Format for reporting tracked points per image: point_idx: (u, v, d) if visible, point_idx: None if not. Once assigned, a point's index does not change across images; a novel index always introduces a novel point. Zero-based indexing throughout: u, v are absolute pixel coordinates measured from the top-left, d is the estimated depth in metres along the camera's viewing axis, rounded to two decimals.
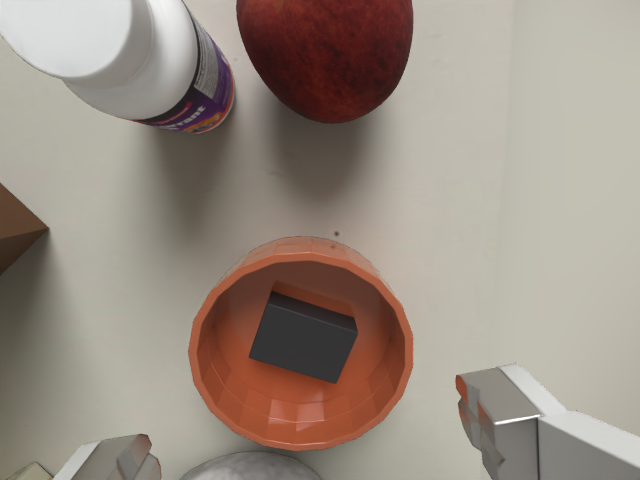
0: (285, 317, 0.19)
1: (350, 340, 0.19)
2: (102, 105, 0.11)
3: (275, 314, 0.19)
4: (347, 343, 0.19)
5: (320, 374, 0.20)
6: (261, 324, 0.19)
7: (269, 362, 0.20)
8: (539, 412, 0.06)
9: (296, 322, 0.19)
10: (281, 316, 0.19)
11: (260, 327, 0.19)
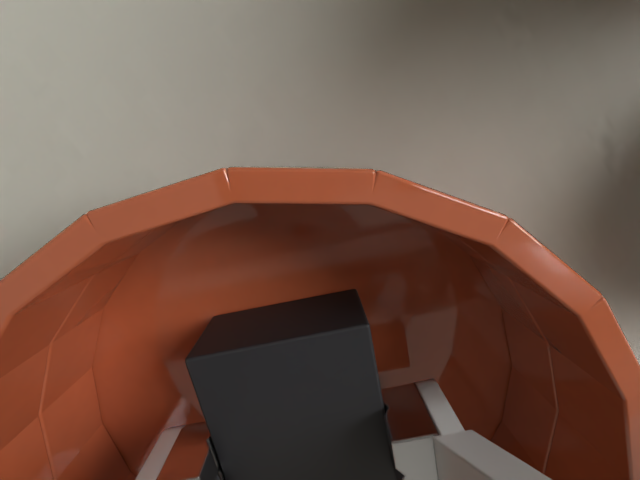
0: (355, 383, 0.07)
1: None
2: None
3: (350, 358, 0.07)
4: None
5: None
6: (302, 342, 0.06)
7: (209, 413, 0.07)
8: (436, 431, 0.06)
9: (357, 412, 0.07)
10: (352, 373, 0.07)
11: (291, 343, 0.06)
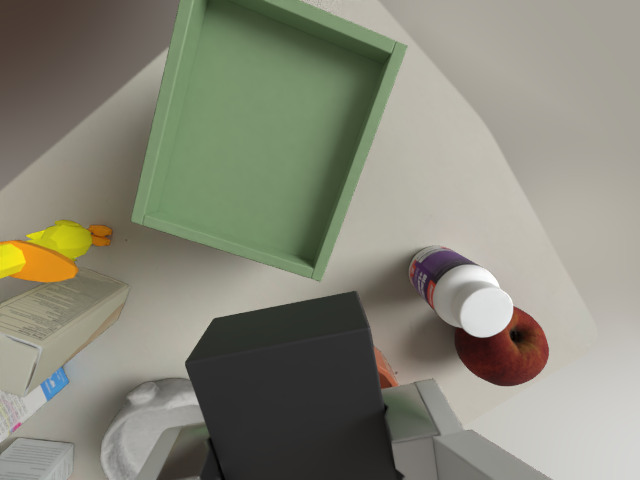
0: (356, 386, 0.07)
1: None
2: (440, 307, 0.25)
3: (350, 361, 0.07)
4: None
5: None
6: (302, 345, 0.06)
7: (209, 416, 0.07)
8: (436, 431, 0.06)
9: (357, 415, 0.07)
10: (353, 376, 0.07)
11: (291, 346, 0.06)
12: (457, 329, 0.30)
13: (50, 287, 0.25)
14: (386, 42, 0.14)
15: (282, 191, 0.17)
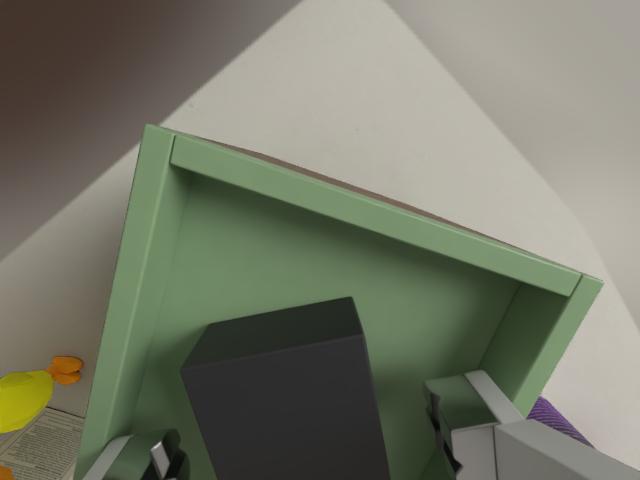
0: (351, 393, 0.07)
1: None
2: None
3: (345, 368, 0.07)
4: None
5: None
6: (297, 351, 0.06)
7: (203, 423, 0.07)
8: (496, 420, 0.06)
9: (352, 421, 0.07)
10: (348, 383, 0.07)
11: (286, 353, 0.06)
12: None
13: None
14: (562, 278, 0.07)
15: None
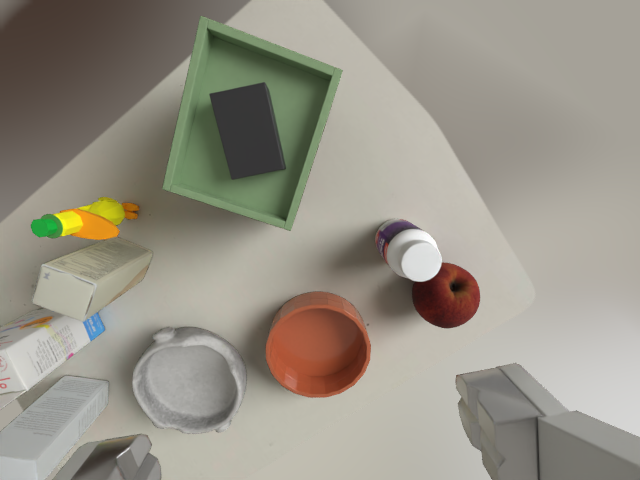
0: (262, 103, 0.22)
1: (274, 166, 0.23)
2: (391, 261, 0.32)
3: (259, 94, 0.21)
4: (270, 166, 0.23)
5: (231, 161, 0.22)
6: (244, 87, 0.21)
7: (216, 114, 0.22)
8: (539, 412, 0.06)
9: (263, 115, 0.22)
10: (261, 100, 0.21)
11: (241, 88, 0.21)
12: (413, 285, 0.38)
13: (95, 248, 0.34)
14: (328, 68, 0.22)
15: None
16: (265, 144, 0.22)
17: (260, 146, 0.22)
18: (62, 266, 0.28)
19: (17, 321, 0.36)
